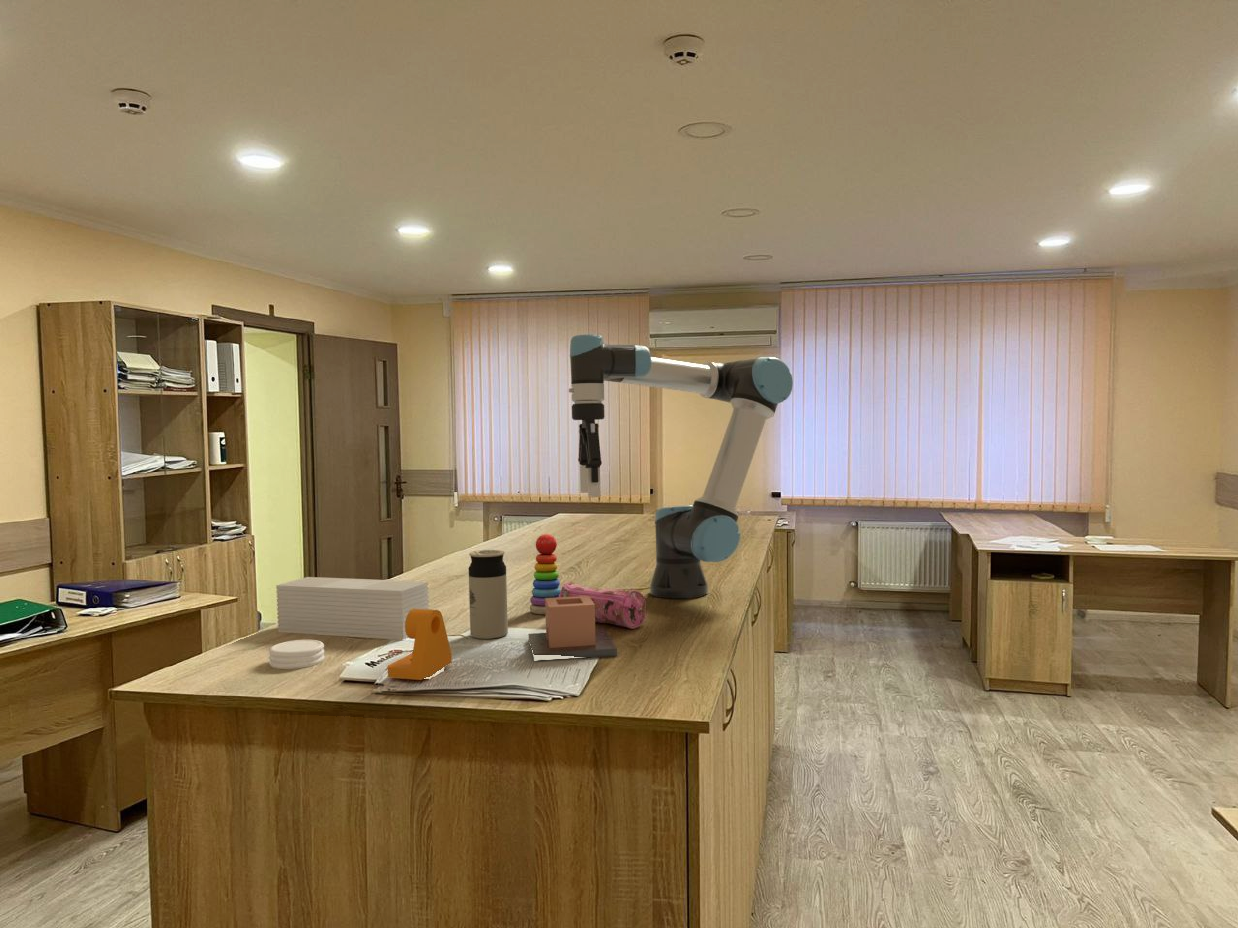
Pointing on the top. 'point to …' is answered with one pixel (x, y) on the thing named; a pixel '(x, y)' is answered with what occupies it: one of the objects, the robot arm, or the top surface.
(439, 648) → the bracket
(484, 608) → the travel mug
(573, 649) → the post plate
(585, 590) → the pencil case
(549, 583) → the stacking toy
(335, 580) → the stack of papers
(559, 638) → the hollow square tube
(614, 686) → the top surface
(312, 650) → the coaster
